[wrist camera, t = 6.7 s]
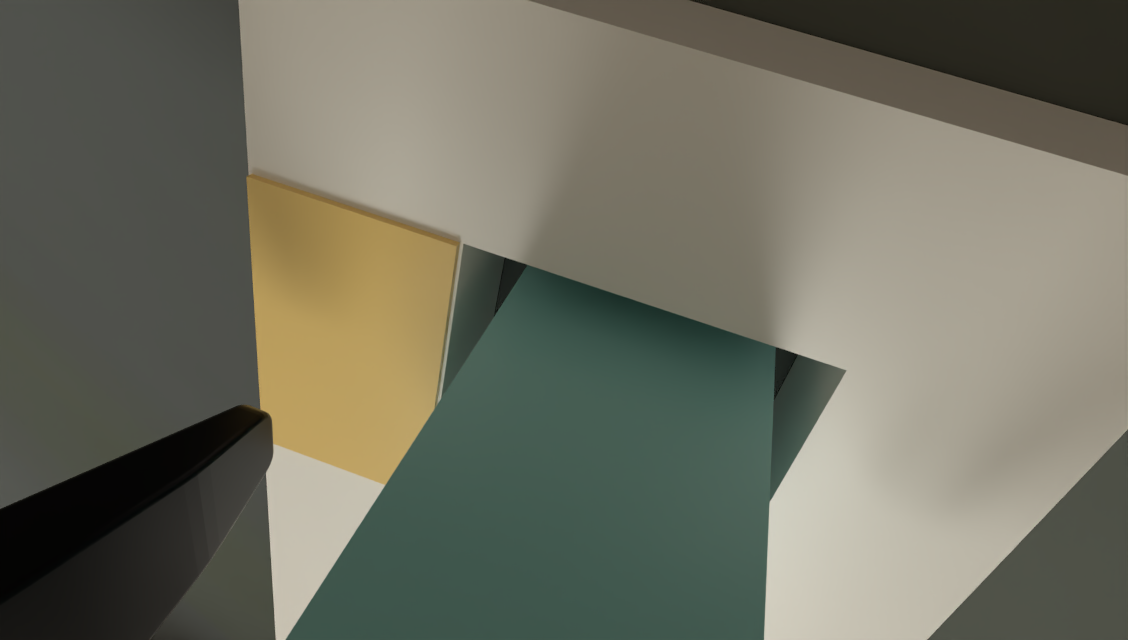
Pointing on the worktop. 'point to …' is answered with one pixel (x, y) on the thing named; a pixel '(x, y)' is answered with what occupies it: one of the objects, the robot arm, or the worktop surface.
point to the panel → (690, 267)
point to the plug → (573, 486)
